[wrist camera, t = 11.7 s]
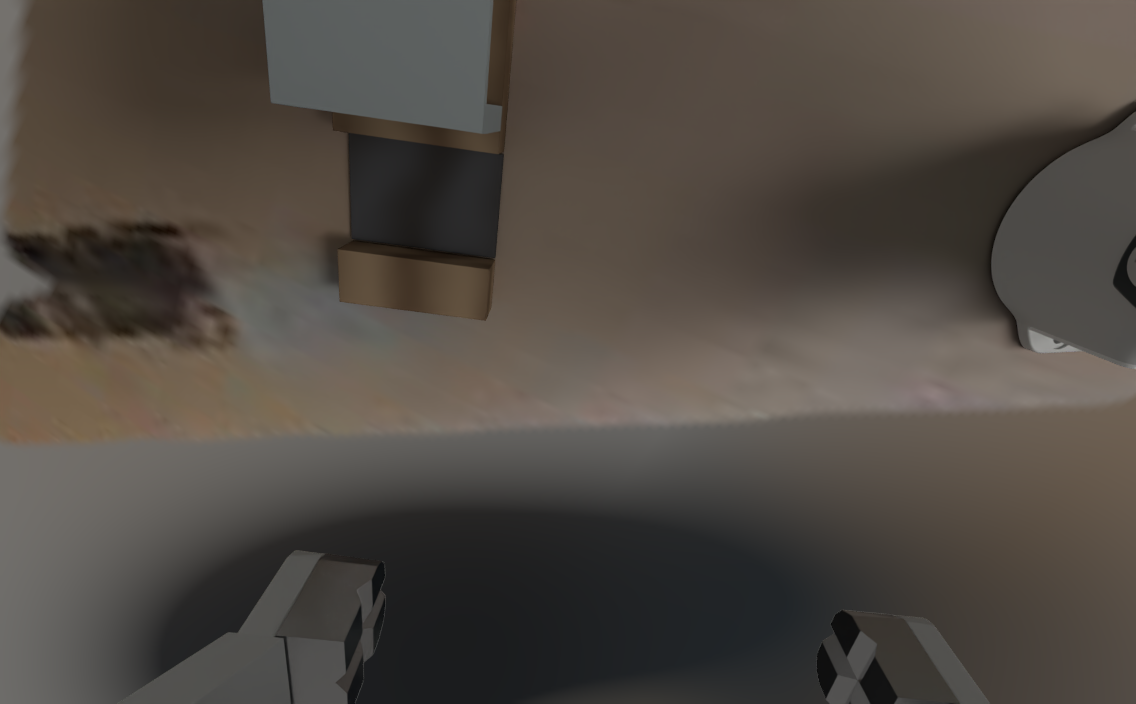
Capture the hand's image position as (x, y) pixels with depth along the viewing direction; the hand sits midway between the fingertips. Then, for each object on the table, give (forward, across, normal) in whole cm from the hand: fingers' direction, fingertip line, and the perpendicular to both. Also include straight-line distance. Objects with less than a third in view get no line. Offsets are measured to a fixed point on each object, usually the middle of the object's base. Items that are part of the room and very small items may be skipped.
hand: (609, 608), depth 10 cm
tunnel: (+31, +12, -11) cm, 35 cm away
